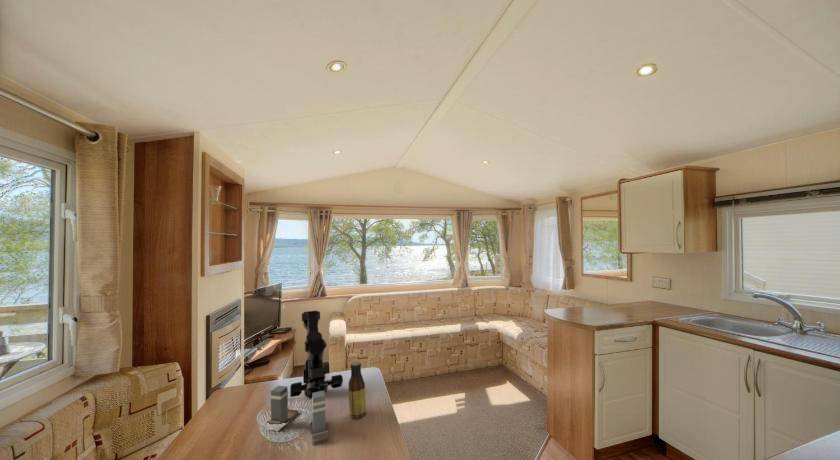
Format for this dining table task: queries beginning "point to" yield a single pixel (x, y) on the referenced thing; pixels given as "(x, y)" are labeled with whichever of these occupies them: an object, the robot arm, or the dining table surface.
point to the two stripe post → (318, 411)
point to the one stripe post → (279, 404)
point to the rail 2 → (319, 435)
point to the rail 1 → (290, 415)
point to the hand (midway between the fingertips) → (318, 409)
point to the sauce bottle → (357, 392)
